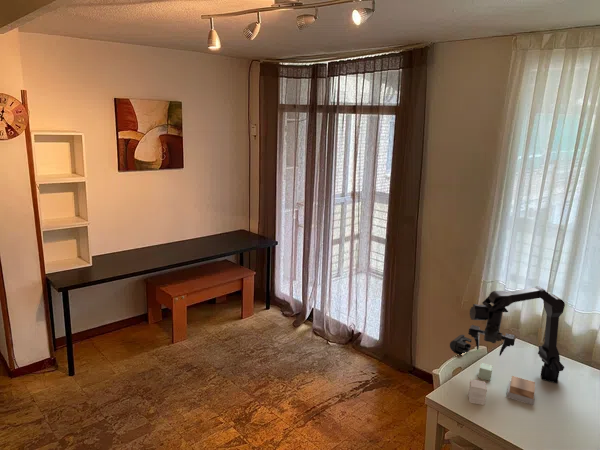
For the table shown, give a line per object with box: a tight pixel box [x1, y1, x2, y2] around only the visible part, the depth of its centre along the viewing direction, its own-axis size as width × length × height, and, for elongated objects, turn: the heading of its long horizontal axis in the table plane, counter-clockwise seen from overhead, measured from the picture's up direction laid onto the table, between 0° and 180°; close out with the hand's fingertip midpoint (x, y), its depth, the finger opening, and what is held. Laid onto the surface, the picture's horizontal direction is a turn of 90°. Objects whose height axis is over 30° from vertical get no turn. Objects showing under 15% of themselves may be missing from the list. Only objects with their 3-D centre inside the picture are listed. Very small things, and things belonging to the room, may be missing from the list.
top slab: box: [510, 375, 536, 399], centre depth 190 cm, size 9×9×3 cm
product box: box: [467, 378, 488, 406], centre depth 186 cm, size 6×6×7 cm
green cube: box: [477, 362, 494, 382], centre depth 203 cm, size 5×5×5 cm
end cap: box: [449, 334, 473, 356], centre depth 226 cm, size 10×7×7 cm
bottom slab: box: [506, 380, 535, 406], centre depth 191 cm, size 10×10×3 cm
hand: (488, 352), depth 201 cm, fingers open, 9 cm apart
